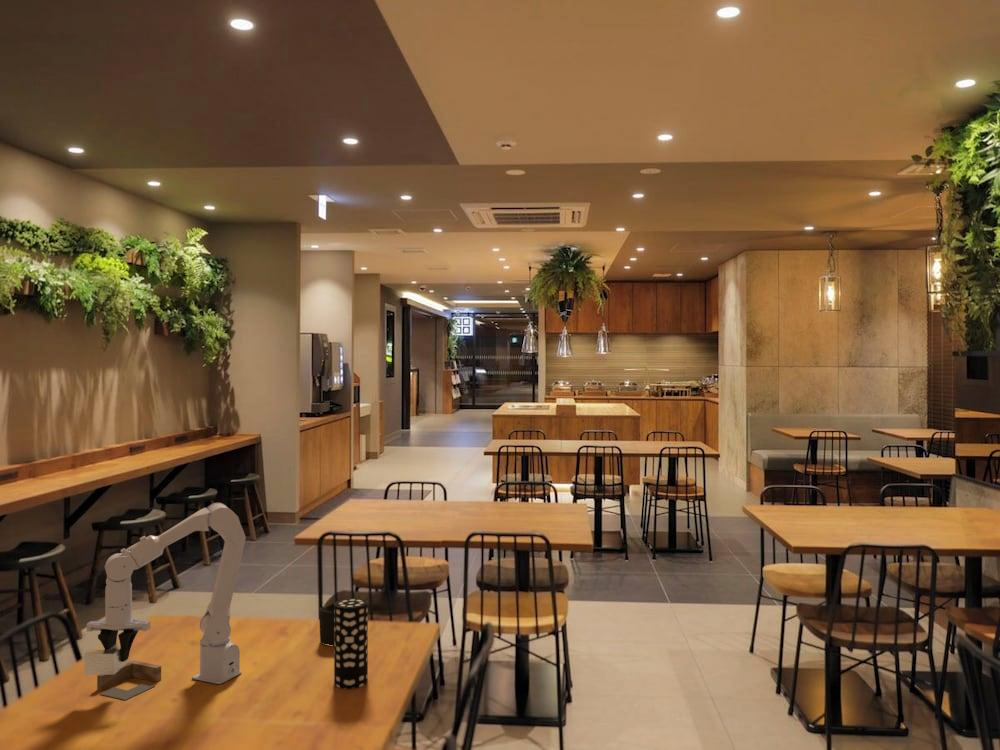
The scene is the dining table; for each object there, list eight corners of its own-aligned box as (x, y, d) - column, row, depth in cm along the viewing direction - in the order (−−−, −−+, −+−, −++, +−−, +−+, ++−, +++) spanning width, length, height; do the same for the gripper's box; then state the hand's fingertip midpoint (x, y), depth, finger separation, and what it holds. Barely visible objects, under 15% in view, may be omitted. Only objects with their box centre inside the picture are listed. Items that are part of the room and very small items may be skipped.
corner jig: (161, 679, 182) (161, 665, 182) (125, 696, 172) (125, 681, 172) (133, 673, 186) (133, 660, 186) (97, 689, 176) (97, 675, 176)
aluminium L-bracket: (114, 674, 169) (113, 653, 169) (84, 674, 169) (84, 654, 169) (129, 661, 176) (128, 641, 176) (100, 661, 176) (100, 642, 176)
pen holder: (352, 645, 206) (352, 610, 206) (318, 648, 204) (318, 613, 204) (351, 634, 215) (351, 601, 216) (319, 637, 213) (319, 603, 213)
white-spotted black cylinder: (353, 672, 186) (353, 596, 187) (374, 681, 181) (374, 602, 181) (327, 683, 180) (327, 603, 180) (348, 692, 175) (348, 610, 175)
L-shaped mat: (154, 686, 178) (154, 685, 178) (125, 700, 170) (125, 699, 170) (130, 681, 181) (130, 680, 181) (100, 694, 173) (100, 693, 173)
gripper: (156, 599, 178) (156, 653, 177) (98, 599, 178) (97, 654, 177) (142, 607, 171) (142, 664, 170) (81, 608, 170) (81, 665, 170)
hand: (118, 660), depth 173 cm, fingers closed on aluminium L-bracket, 2 cm apart
